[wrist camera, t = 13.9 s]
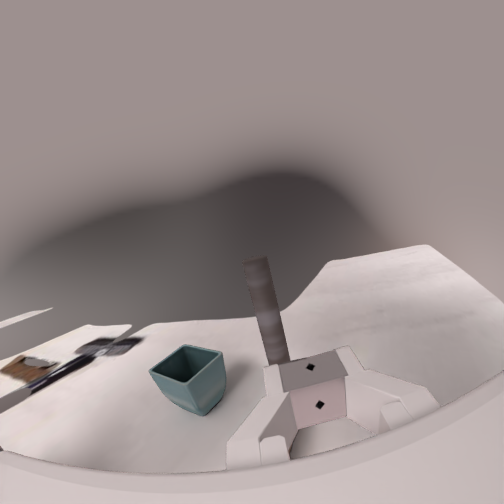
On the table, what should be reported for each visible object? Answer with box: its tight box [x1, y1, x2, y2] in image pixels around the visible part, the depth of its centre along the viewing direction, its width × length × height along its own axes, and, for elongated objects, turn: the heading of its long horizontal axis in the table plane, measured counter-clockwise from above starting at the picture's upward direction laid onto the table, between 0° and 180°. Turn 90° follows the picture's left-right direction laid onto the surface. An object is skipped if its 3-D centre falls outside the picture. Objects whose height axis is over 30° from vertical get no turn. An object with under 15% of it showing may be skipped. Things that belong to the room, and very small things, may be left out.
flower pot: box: [148, 344, 226, 416], centre depth 43 cm, size 9×9×9 cm
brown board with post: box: [242, 255, 292, 453], centre depth 28 cm, size 15×3×24 cm, turn 163°
